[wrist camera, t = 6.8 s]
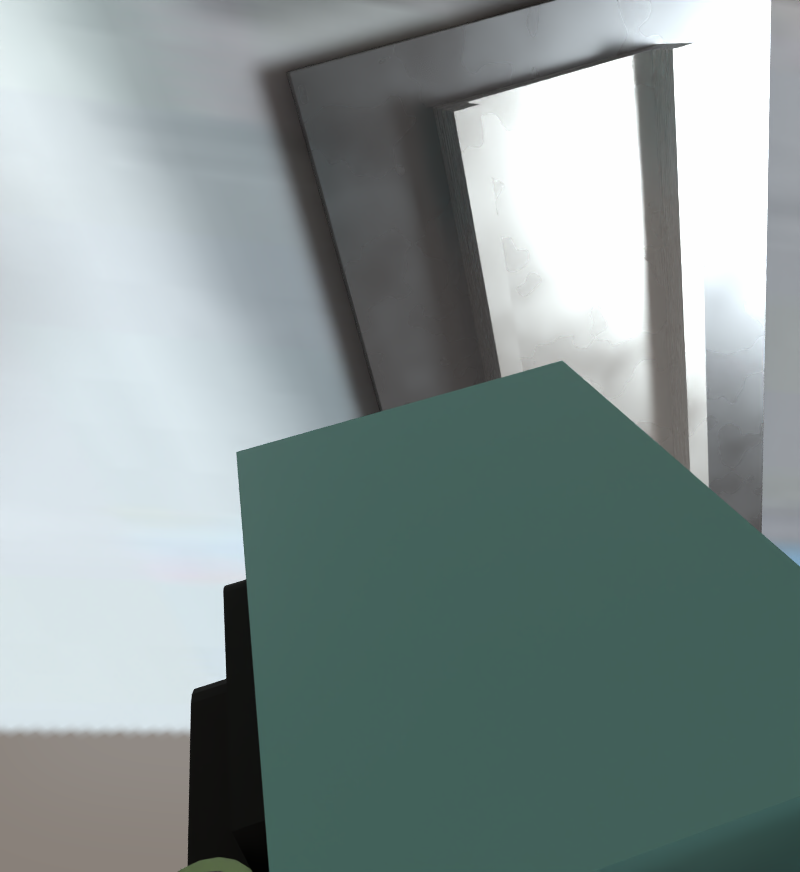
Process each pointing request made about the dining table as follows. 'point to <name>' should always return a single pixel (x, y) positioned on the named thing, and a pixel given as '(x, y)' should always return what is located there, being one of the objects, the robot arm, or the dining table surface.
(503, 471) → the block
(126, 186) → the dining table surface
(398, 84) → the rail board
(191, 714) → the robot arm
